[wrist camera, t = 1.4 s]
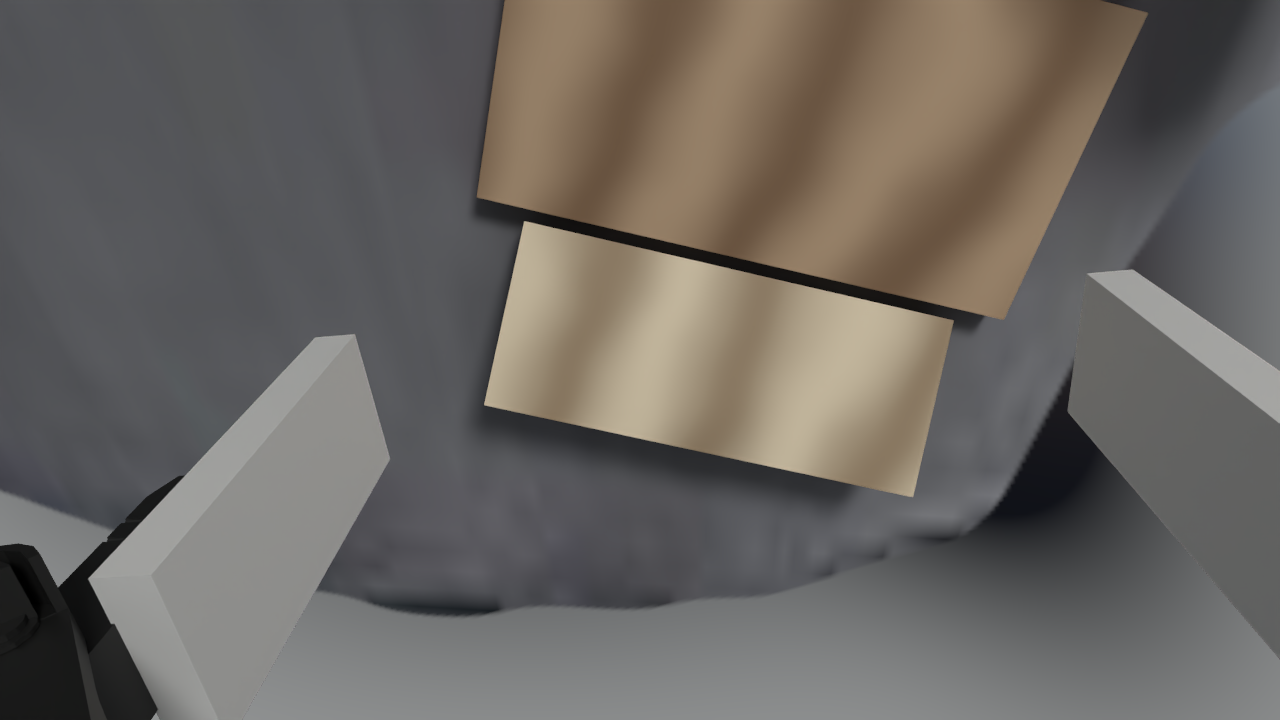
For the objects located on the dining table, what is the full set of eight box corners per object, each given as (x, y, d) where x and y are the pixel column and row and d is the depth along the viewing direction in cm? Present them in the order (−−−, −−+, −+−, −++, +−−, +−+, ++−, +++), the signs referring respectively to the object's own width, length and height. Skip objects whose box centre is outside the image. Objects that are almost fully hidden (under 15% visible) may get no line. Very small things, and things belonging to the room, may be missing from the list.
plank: (488, 401, 34) (483, 405, 33) (527, 225, 34) (524, 220, 33) (899, 490, 36) (912, 497, 34) (938, 320, 35) (953, 320, 34)
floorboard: (483, 192, 34) (476, 202, 33) (533, -147, 28) (526, -152, 27) (989, 309, 35) (1001, 324, 34) (1127, 9, 30) (1148, 12, 29)
